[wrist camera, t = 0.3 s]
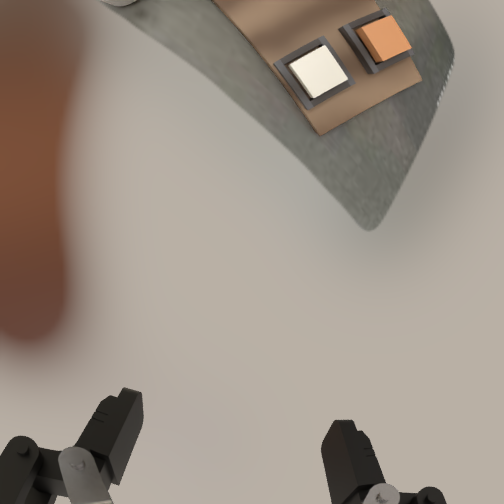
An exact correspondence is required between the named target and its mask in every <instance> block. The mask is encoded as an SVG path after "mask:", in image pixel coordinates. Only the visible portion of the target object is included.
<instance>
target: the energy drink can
mask: <svg viewBox="0 0 504 504" xmlns="http://www.w3.org/2000/svg"><path fill="white" fill-rule="evenodd" d="M100 1H103V2H106V3H109V4H111V5H114V6H125V5H128V4H131V3H133V2H135V1H136V0H100Z"/></svg>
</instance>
